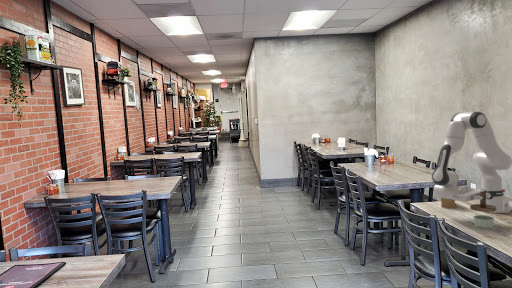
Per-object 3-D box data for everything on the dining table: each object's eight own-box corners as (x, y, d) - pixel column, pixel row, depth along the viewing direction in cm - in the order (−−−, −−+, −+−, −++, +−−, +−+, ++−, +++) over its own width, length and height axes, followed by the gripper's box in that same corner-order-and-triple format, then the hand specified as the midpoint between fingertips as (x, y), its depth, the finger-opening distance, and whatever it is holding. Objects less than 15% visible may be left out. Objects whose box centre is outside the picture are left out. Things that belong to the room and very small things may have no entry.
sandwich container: (454, 203, 260) (454, 182, 259) (455, 208, 246) (454, 187, 245) (441, 202, 264) (440, 182, 263) (441, 207, 250) (440, 186, 249)
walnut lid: (477, 204, 217) (477, 188, 216) (500, 208, 206) (500, 191, 205) (465, 208, 210) (465, 192, 209) (489, 213, 199) (489, 195, 198)
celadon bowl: (479, 221, 215) (478, 214, 215) (497, 225, 207) (497, 217, 206) (470, 224, 210) (470, 217, 210) (488, 228, 202) (488, 221, 201)
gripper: (450, 191, 213) (474, 195, 201) (469, 186, 223) (493, 189, 211) (451, 201, 213) (475, 205, 201) (469, 196, 224) (493, 199, 212)
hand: (484, 197), depth 206 cm, fingers closed on walnut lid, 3 cm apart
